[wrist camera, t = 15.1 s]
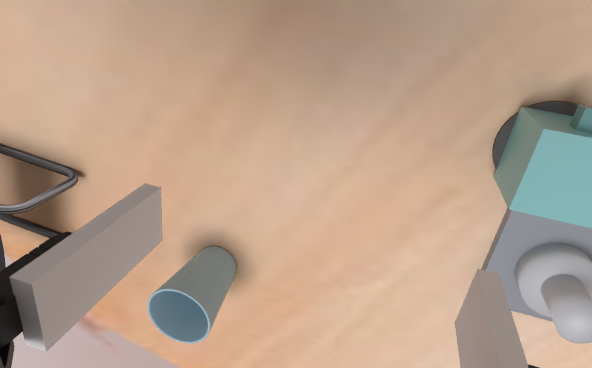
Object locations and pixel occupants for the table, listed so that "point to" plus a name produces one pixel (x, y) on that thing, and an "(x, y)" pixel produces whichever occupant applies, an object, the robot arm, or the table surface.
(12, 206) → the chair
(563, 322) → the square plate with peg
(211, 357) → the table surface
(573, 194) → the teal cube with tab
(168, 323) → the cup
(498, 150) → the coaster
